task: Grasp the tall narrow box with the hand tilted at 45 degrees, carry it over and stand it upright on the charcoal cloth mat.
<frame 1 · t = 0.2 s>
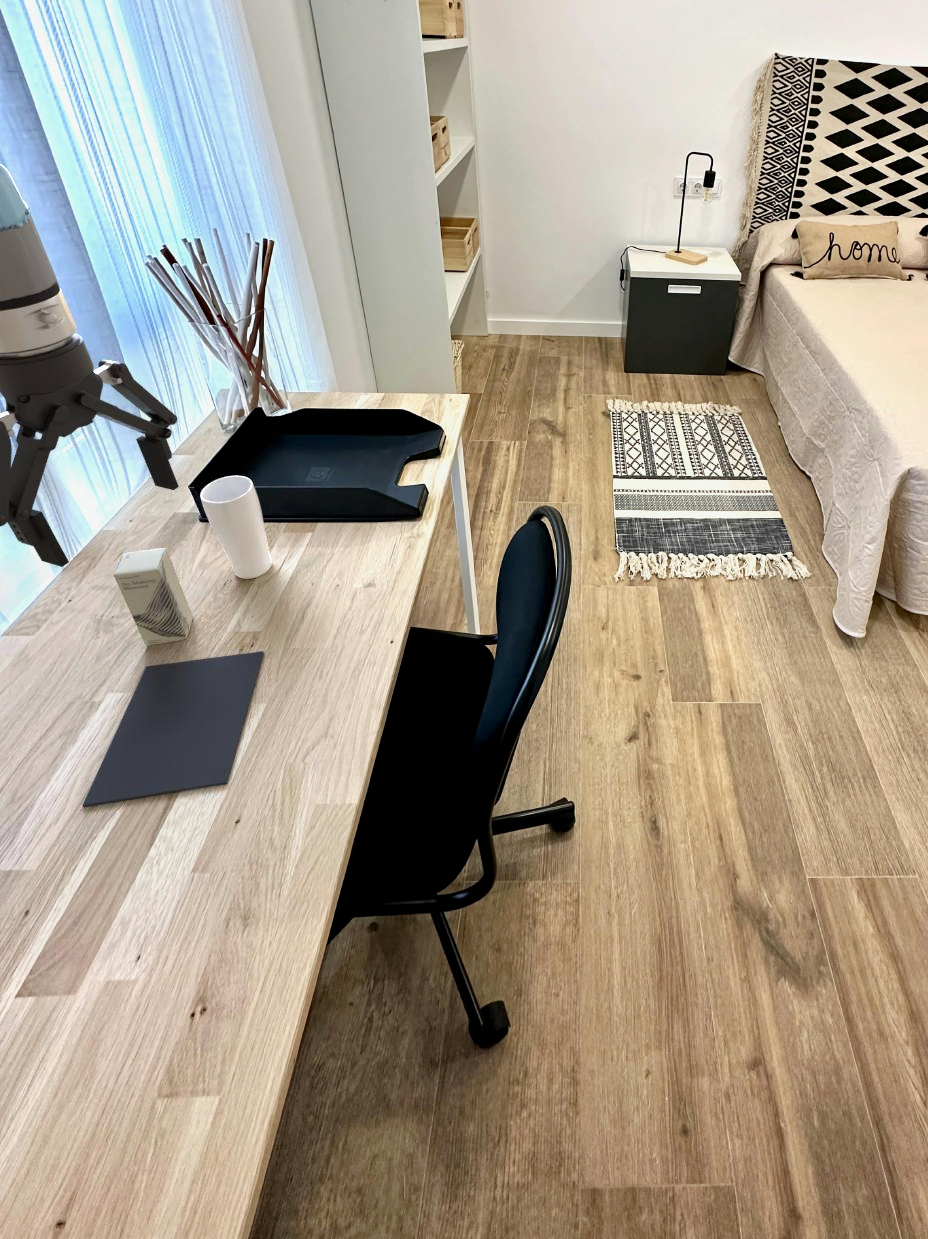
hand: (115, 521, 72), 24 cm above the table, tool pointing down, fingers open, 13 cm apart
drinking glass: (254, 569, 100), on the table
box: (172, 632, 89), on the table
cloth: (184, 721, 78), on the table
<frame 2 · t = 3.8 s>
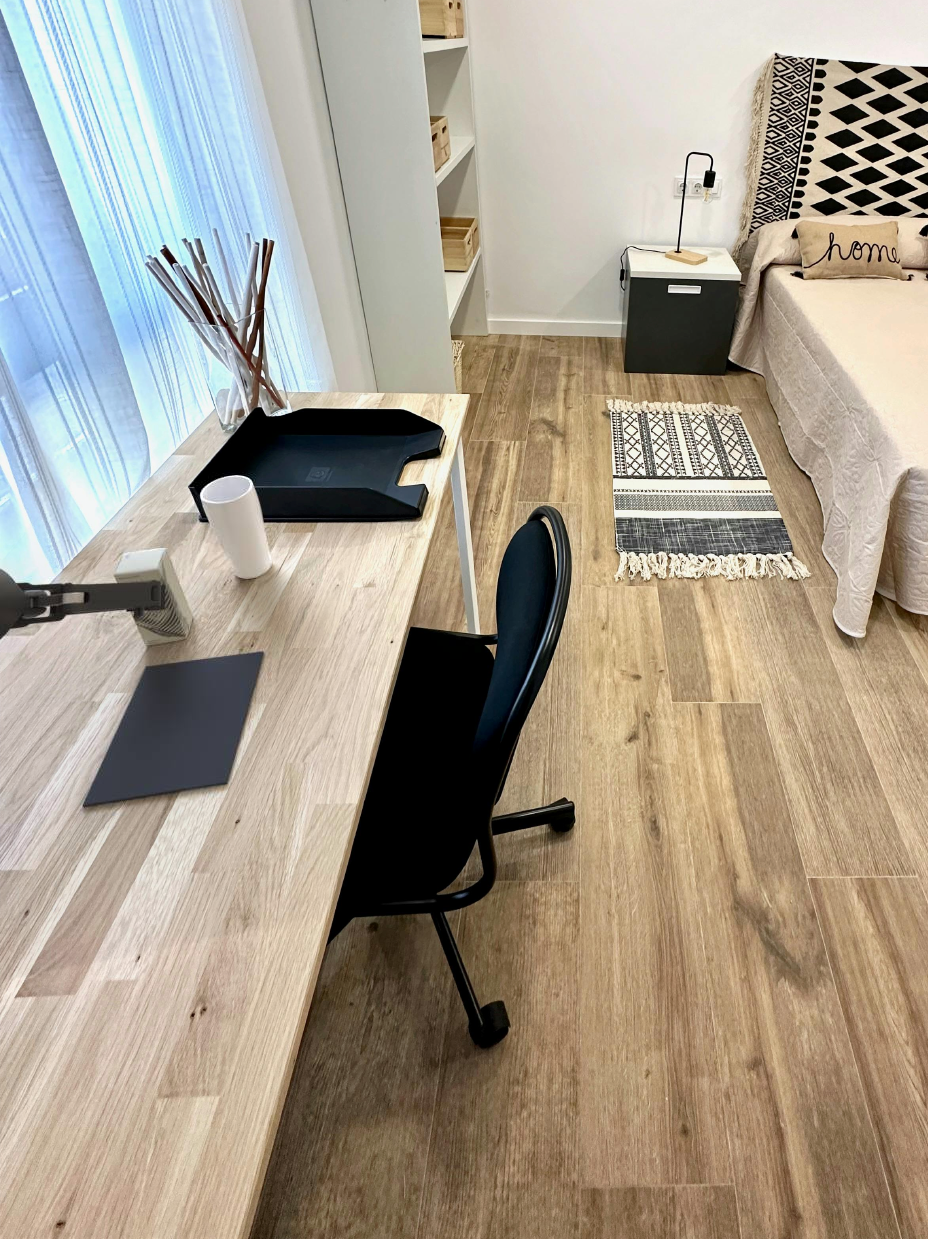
hand: (93, 605, 72), 16 cm above the table, tool tilted 45°, fingers open, 13 cm apart
nothing on the table moved.
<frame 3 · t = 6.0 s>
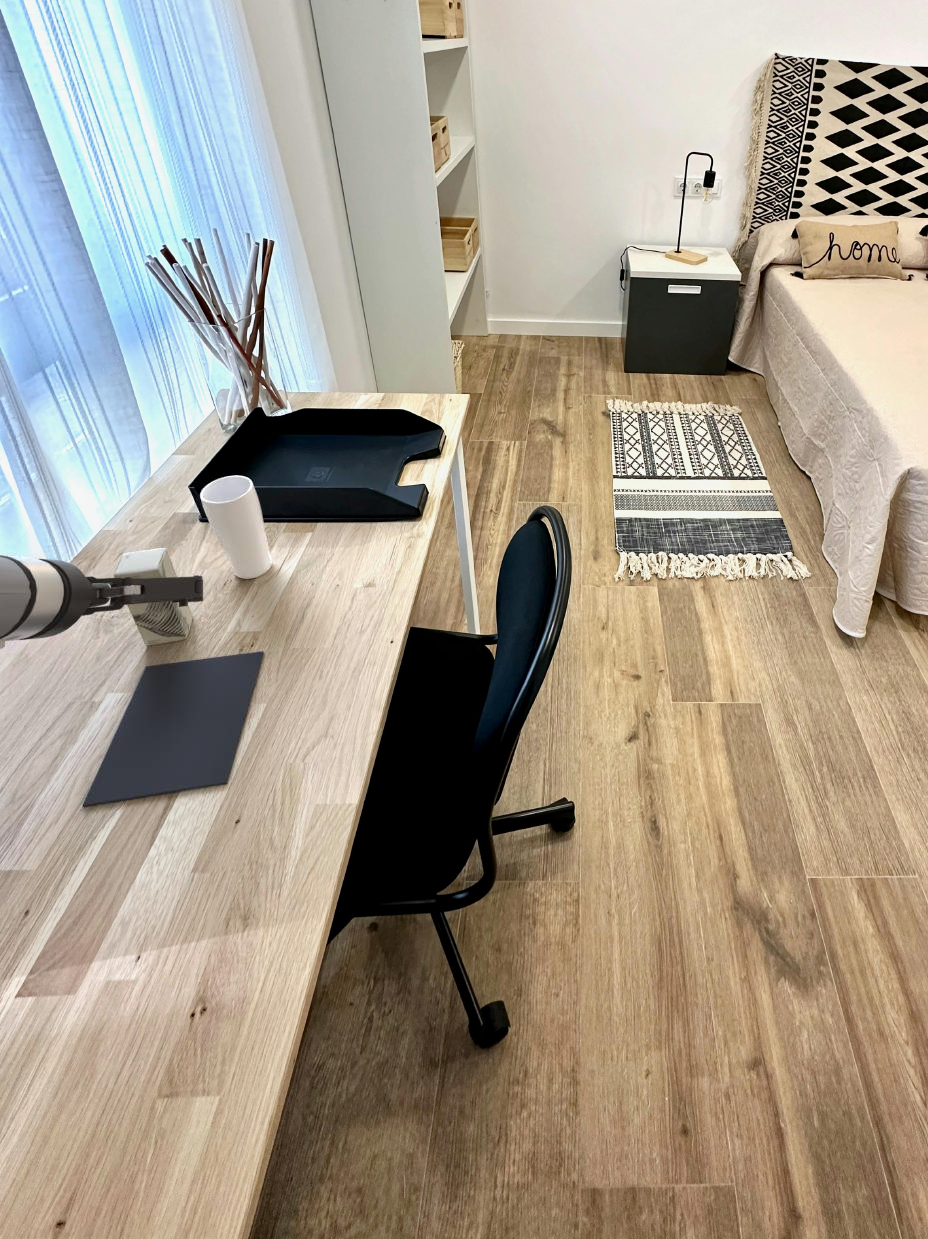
hand: (140, 597, 82), 9 cm above the table, tool tilted 45°, fingers open, 13 cm apart
nothing on the table moved.
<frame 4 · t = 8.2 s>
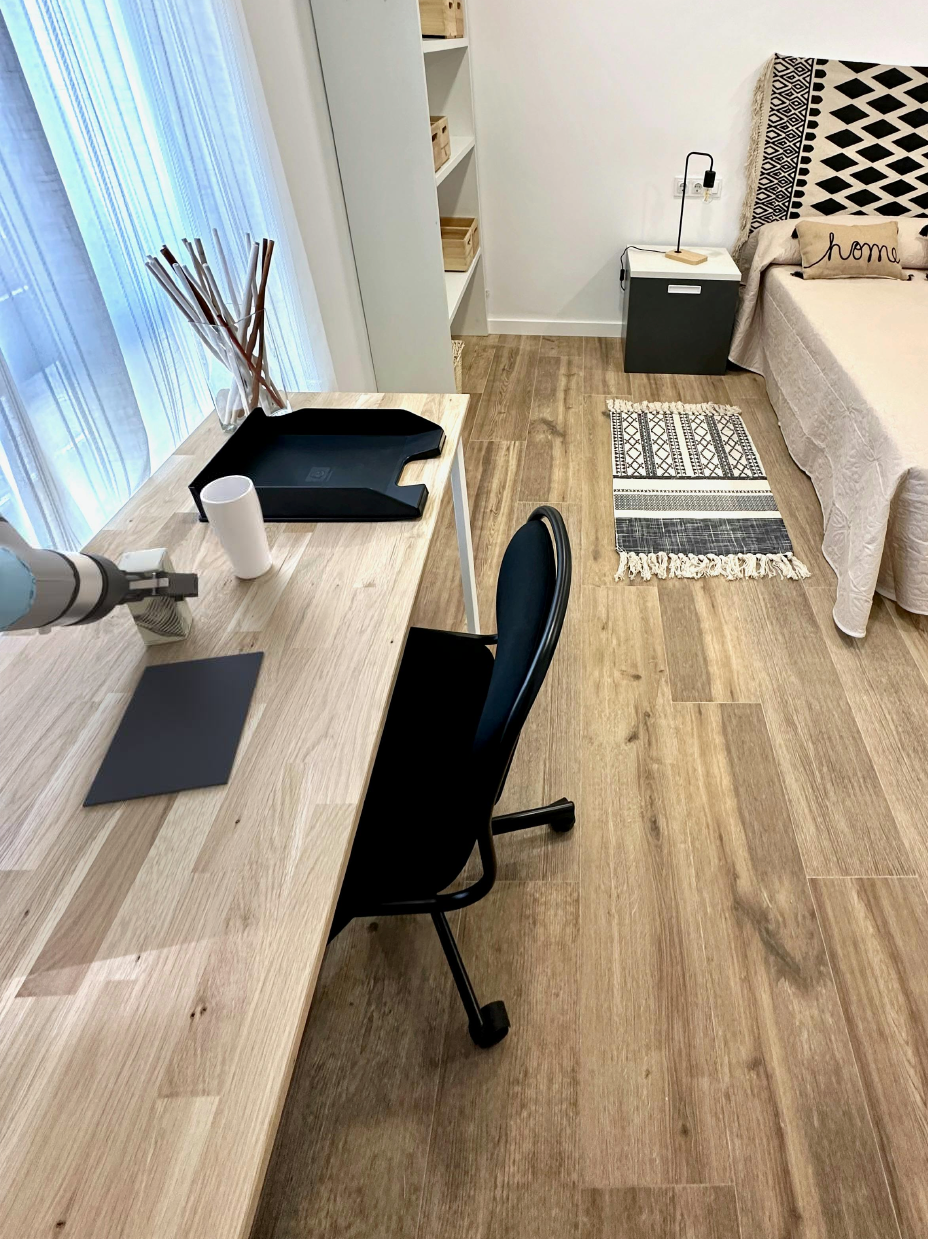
hand: (170, 589, 90), 4 cm above the table, tool tilted 45°, fingers closed on box, 5 cm apart
box: (172, 632, 89), on the table, touching gripper
everything else where it was.
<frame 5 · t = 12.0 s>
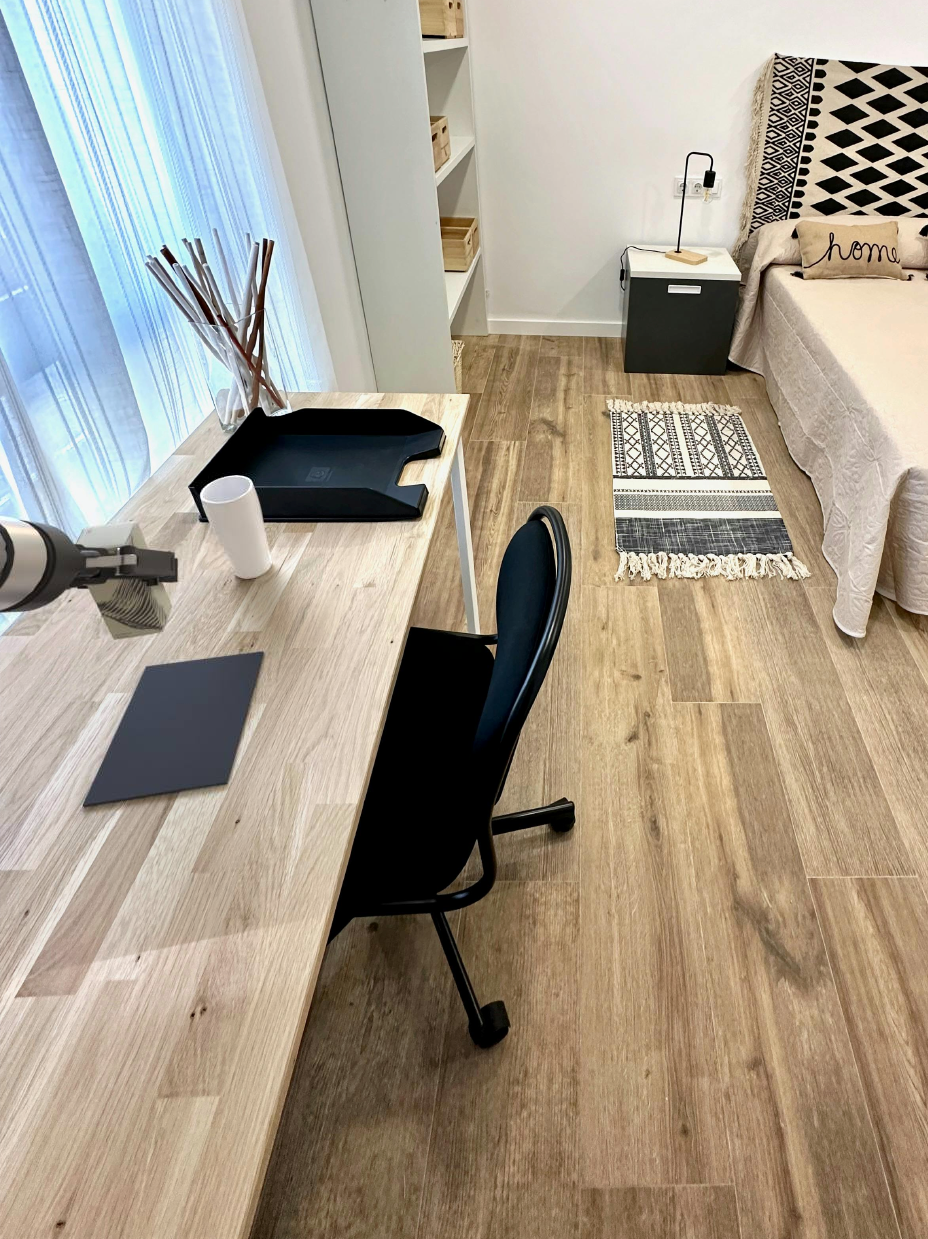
hand: (145, 573, 75), 16 cm above the table, tool tilted 45°, fingers closed on box, 5 cm apart
box: (146, 624, 74), point 12 cm above the table, touching gripper
everything else where it was.
when the fingers open (5 cm above the table, at t = 16.1 s): box stays where it is, resting on cloth.
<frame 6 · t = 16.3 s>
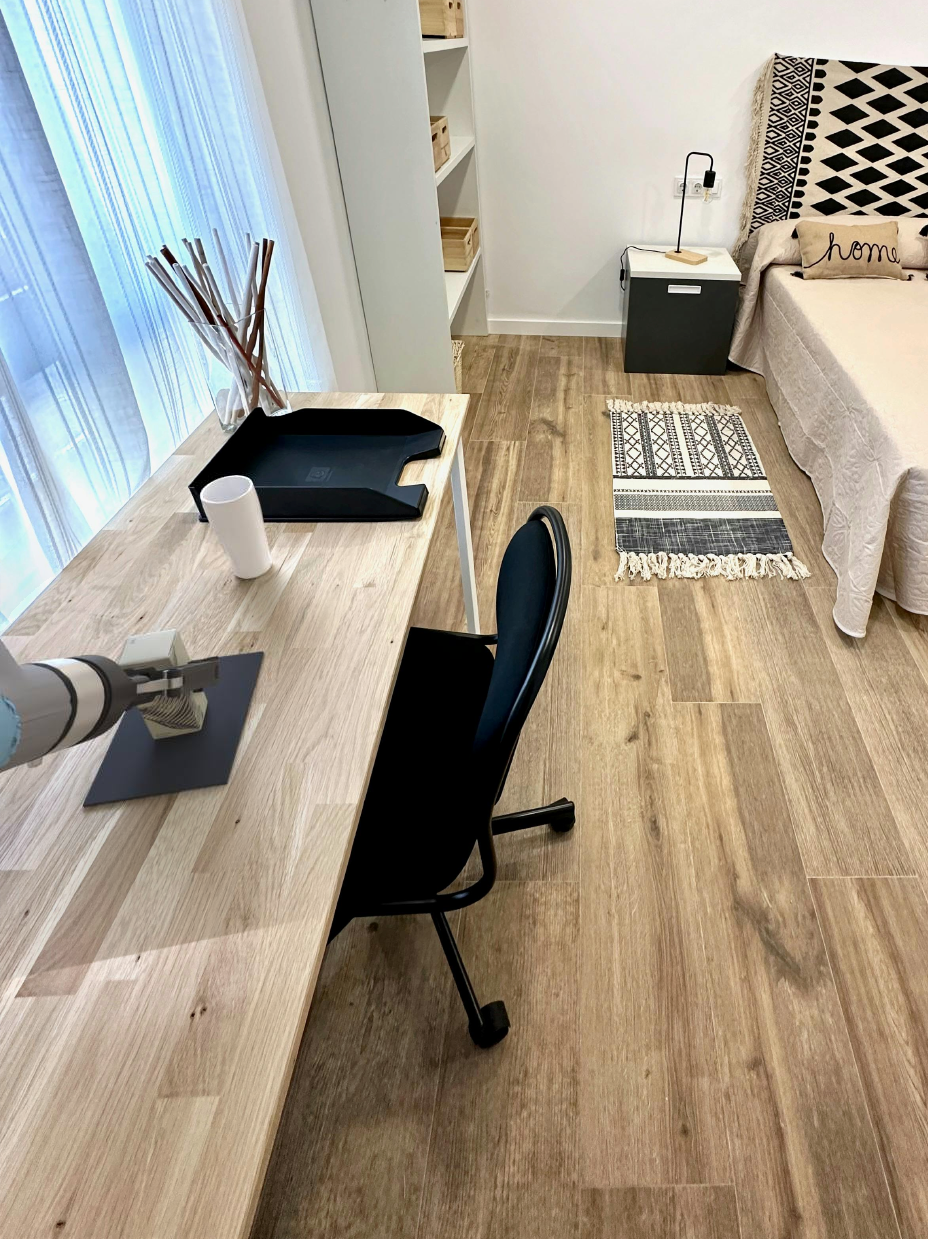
hand: (181, 672, 78), 4 cm above the table, tool tilted 45°, fingers open, 6 cm apart
box: (183, 721, 78), resting on cloth
everything else where it was.
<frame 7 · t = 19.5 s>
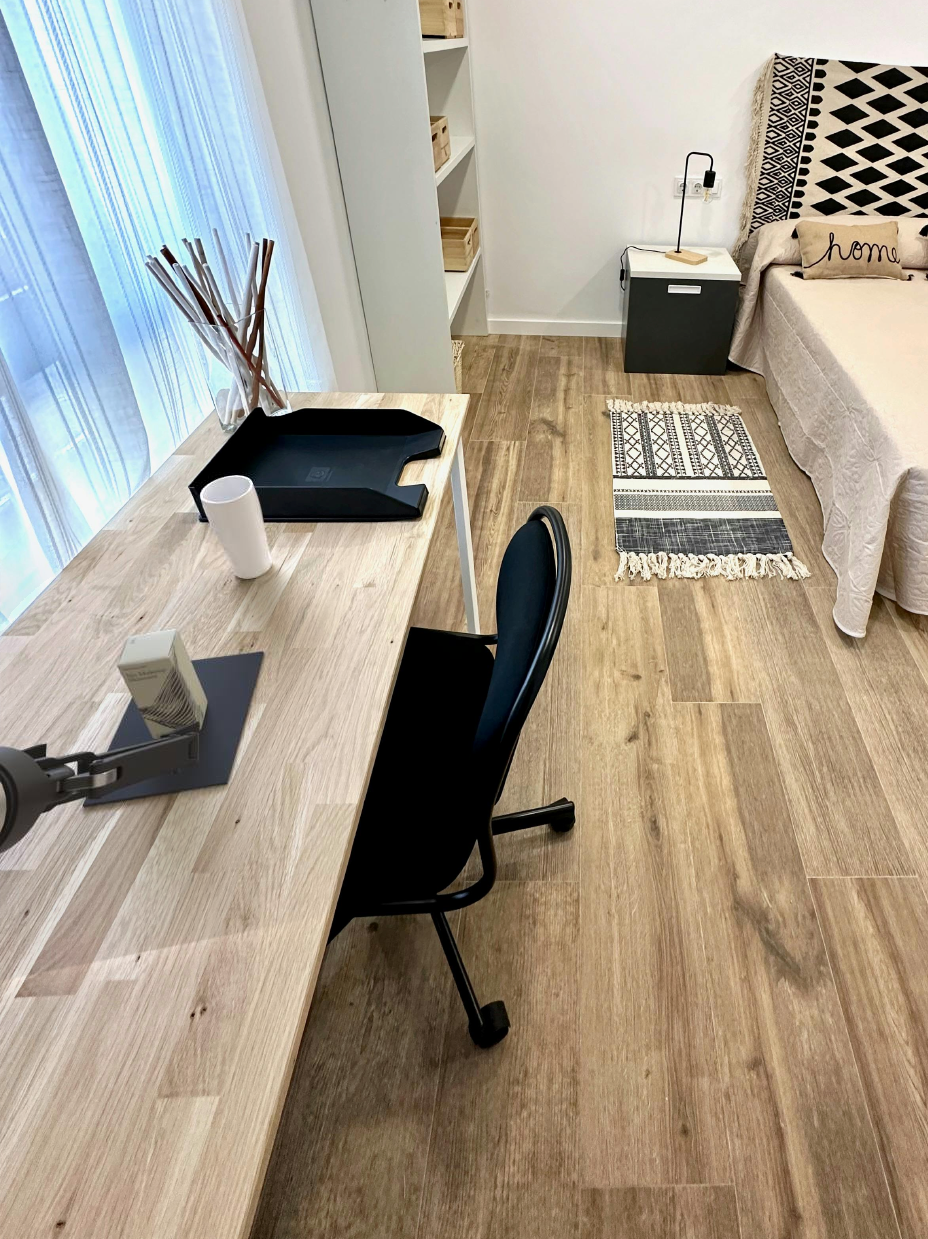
hand: (120, 747, 65), 10 cm above the table, tool tilted 45°, fingers open, 13 cm apart
nothing on the table moved.
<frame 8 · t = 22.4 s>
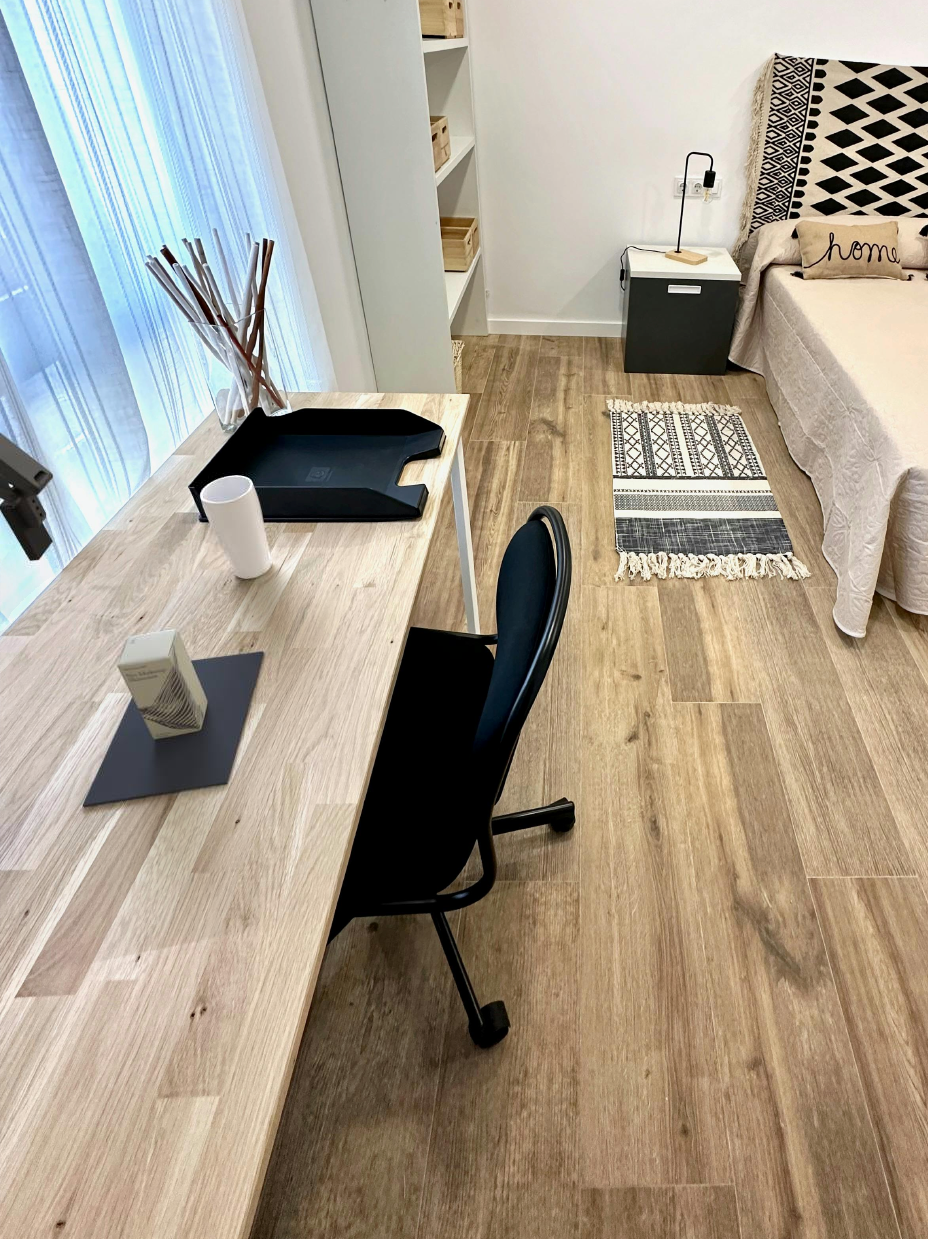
nothing on the table moved.
at the end: box inside the target area on the cloth (0.1 cm from its centre), point 0.2 cm above the cloth's base; box tilted 0°; the gripper is holding nothing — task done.
